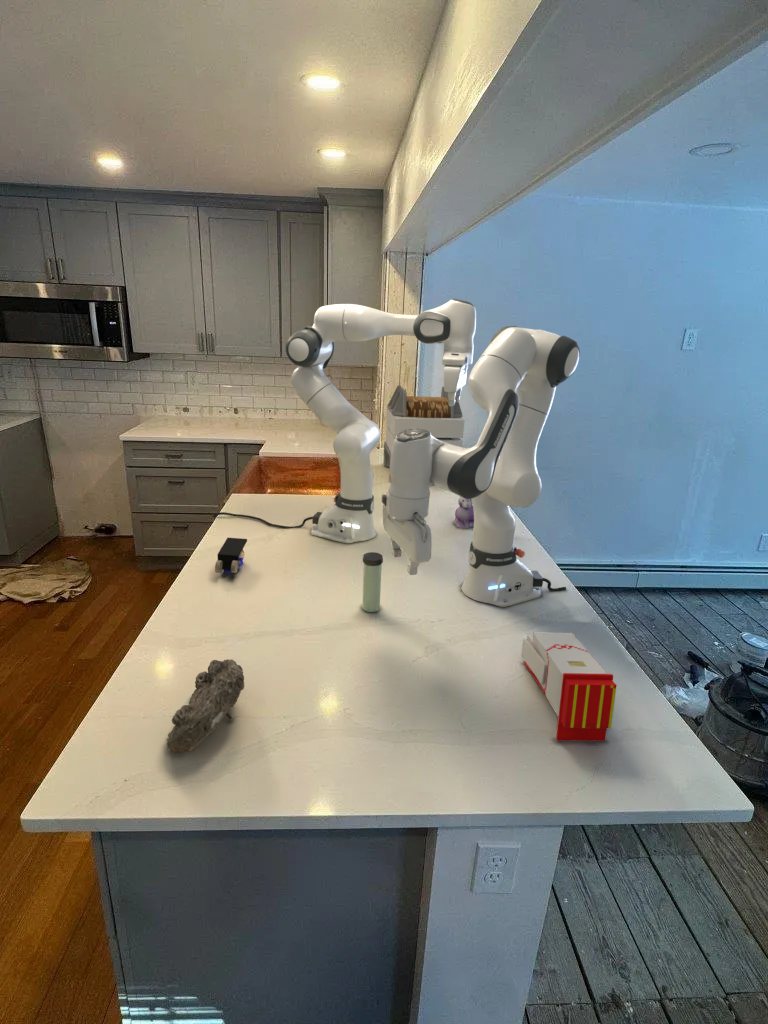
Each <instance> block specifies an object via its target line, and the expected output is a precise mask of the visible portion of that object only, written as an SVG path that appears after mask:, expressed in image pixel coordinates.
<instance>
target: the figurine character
mask: <svg viewBox="0 0 768 1024" xmlns="http://www.w3.org/2000/svg"><path fill="white" fill-rule="evenodd" d="M247 542H248V538H240V537H226V539H225V541H224V543H223V544H222V546H221V547H220V549H219V551H218V552H217V560H216V562H215V564H214V572H215V573H221V577H222V578H224V577H225V576H226V574H227V573H230V574H231V573H232V574H231V578H234V577H235V575H236V573H237V572H239V571H240V567H242V566H243V565H244V564H245V562H244V558H245V551H244V547H245V546H246V544H247Z"/></svg>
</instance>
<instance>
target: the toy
mask: <svg viewBox="0 0 768 1024" xmlns="http://www.w3.org/2000/svg"><path fill="white" fill-rule="evenodd" d="M522 639H523V640H522V645H521V653H520V657H521V658H522V659H523V664H524V665H525V667H526V668H527V670H528V672H529V673H530V675H531V676H532V677H533V679H534V680H535V682H536V683H537V685H538V686H539V688H540V690H541V691H542V692H543V693H544V694H545V697H546V698H547V701H548V702H549V704H550V705H551V708H552V709H553V710H554V712H555V714H556V716H557V718H558V719H557V728H556V737H555V740H556V741H562V742H563V741H566V742H567V741H570V742H571V741H572V742H574V741H575V742H606V737H607V732H608V731H607V730H608V729H612V726H613V725H612V723H613V718H614V717H613V716H614V710H615V701H616V693H617V686H618V685H617V684H616V683H615V681H614V674H613V673H607V671H605V670H604V668H602V666H601V665H600V664H599V663H598V661H597V660H596V659H595V658H594V657H593V656H592V654H590V652H589V651H588V650H587V648H586V647H585V646H584V645H583V644H582V643H581V642H580V640H579V639H578V638H577V637H576V636H575V634H574V633H573V632H541V631H540V632H537V631H536V632H535V631H534V632H533V633H527V635H526V638H522Z"/></svg>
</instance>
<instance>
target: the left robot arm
mask: <svg viewBox="0 0 768 1024" xmlns="http://www.w3.org/2000/svg"><path fill="white" fill-rule="evenodd" d="M476 327H477V309H476V306H475V305H474V304H473V303H472V302H470V301H467V300H463V299H458V298H451V299H450V300H448V301H447V302H445V303H444V304H441V305H439V306H437V307H435V308H431V309H427V310H424V311H422V312H421V313H419V314H399V313H391V312H386V311H383V310H380V309H377V308H374V307H370V306H366V305H361V304H355V303H335V304H327V305H322V306H320V307H318V308H317V309H316V311H315V313H314V317H313V325H312V326H310V325H306V326H305V327H303V328H301V329H299V330H298V331H295V333H293V334H292V335H291V336H290V337H289V338H288V339H287V340H286V344H285V354H286V357H287V359H289V361H290V362H292V364H294V365H296V366H297V367H295V369H294V370H293V371H292V373H291V375H290V380H291V381H290V383H291V384H292V386H293V388H294V390H295V391H296V393H297V395H298V396H299V397H300V399H301V400H302V401H303V403H304V404H305V405H306V407H307V408H308V409H309V410H310V411H311V412H312V413H313V415H314V416H315V417H316V418H317V419H318V420H319V422H320V423H321V424H323V425H324V426H326V427H328V428H330V429H331V430H332V431H334V432H335V433H336V436H335V438H334V439H333V443H332V446H333V448H332V449H333V451H334V454H335V455H336V457H337V462H338V466H339V473H340V488H339V489H340V490H339V491H338V492H337V494H336V495H335V496H334V497H333V502H334V504H333V505H331V506H329V507H328V508H326V509H325V510H323V512H322V511H317V512H316V513H315V514H314V515H313V516H309V517H306V518H304V519H303V520H302V523H301V524H299V525H295V526H287V525H282V524H281V525H280V524H277V523H271V522H268V521H267V520H265V519H263V518H260V517H257V516H253V515H249V514H238V513H231V512H227V511H225V512H224V511H221V512H217V513H215V514H214V515H212V518H216V517H218V516H222V515H224V516H231V517H238V518H246V519H251V520H252V519H253V520H257V521H259V522H262V523H264V524H266V525H267V526H270V527H274V528H279V529H300V528H302V527H304V526H305V524H306V522H307V521H310V520H312V524H313V526H312V528H311V530H310V533H311V536H315V537H319V538H323V539H326V540H330V541H336V542H339V543H343V544H352V543H357V542H365V541H368V540H372V539H373V538H375V537H376V535H377V532H376V528H375V523H374V513H373V512H374V509H375V496H374V472H373V470H372V466H371V465H372V464H371V460H370V459H371V457H370V455H371V452H372V451H373V450H374V449H376V448H377V446H378V445H379V442H380V439H381V436H382V435H381V429H380V427H379V425H378V424H377V423H376V422H375V421H373V420H371V419H369V418H368V417H366V415H364V414H363V413H362V412H361V411H360V410H358V409H357V408H356V407H355V406H353V404H352V403H350V402H349V400H347V399H346V398H345V397H344V396H343V394H342V393H341V392H340V391H339V389H338V388H337V387H336V386H335V385H334V384H333V382H332V381H331V380H330V379H329V378H328V377H327V376H326V374H325V372H324V369H326V368H327V366H328V365H329V362H330V360H331V359H332V357H333V356H334V352H335V350H336V343H335V342H353V343H356V342H366V341H371V340H376V339H378V338H384V337H388V336H409V337H415V338H416V339H417V340H418V341H420V343H423V344H426V345H434V344H435V345H436V344H443V354H442V362H441V363H442V365H443V387H444V390H445V392H448V400H449V401H448V405H449V406H454V405H455V402H460V400H461V393H462V390H463V388H464V387H465V386H466V383H467V373H468V368H469V365H473V360H474V359H473V358H474V347H475V345H474V337H475V334H476Z"/></svg>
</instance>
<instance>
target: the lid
mask: <svg viewBox="0 0 768 1024" xmlns="http://www.w3.org/2000/svg"><path fill="white" fill-rule="evenodd" d="M362 563H363V565H364V564H366V565H370V566H377V565H380V564H382V565H383V563H384V556H383V554H381V553H379V552H376V551H369V552H365V553H364V554H363V555H362Z"/></svg>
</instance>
